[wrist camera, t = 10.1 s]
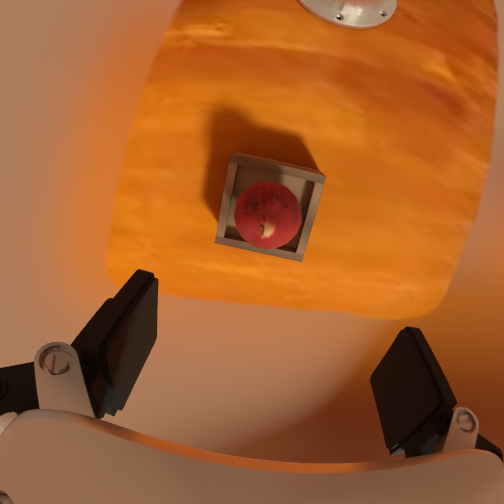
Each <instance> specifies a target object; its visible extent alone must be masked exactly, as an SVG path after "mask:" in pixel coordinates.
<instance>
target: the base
mask: <svg viewBox="0 0 504 504" xmlns="http://www.w3.org/2000/svg"><path fill="white" fill-rule="evenodd" d="M325 178H326V176H325V175H324V174H323V173H322V172H320V171H319V170H316V169H312V168H308V167H304V166H300V165H296V164H292V163H288V162H283V161H279V160H275V159H270V158H265V157H261V156H256V155H251V154H246V153H241V152H235V153H233V154H231V155H230V160H229V165H228V170H227V176H226V181H225V187H224V192H223V198H222V203H221V209H220V215H219V221H218V227H217V233H216V239H215V243H217V244H221V245H226V246H231V247H235V248H240V249H245V250H249V251H254V252H258V253H263V254H268V255H272V256H277V257H281V258H286V259H291V260H295V261H300V262H302V259H303V256H304V252H305V249H306V246H307V242H308V239H309V236H310V232H311V229H312V225H313V222H314V218H315V215H316V211H317V208H318V204H319V200H320V197H321V193H322V189H323V186H324V182H325ZM258 182H276V183H279V184H281V185H284V186H286V187H288V188H289V189H290V191H291V192H292V193H293V194H294V195H295V196H296V197H297V200H298V202H299V204H300V206H301V220H302V222H301V224H300V227H299V229H298V232H297V234H296V235H295V236H294V237H293V238H292V239H291V240H290V241H289V242H288V243H286V244H284V245H282V246H280V247H278V248H273V249H261V248H257V247H254V246H252V245H250V244H249V243H248V242H247V241H246V240H244V239H243V238H242V236H241V235H240V233H239V231H238V230H237V228H236V225H235V219H234V211H235V207H236V202H237V199H238V198H239V196H240V195H241V194H242V193H243V191H244V190H245V189H246V188H247V187H249V186H251V185H253V184H256V183H258Z"/></svg>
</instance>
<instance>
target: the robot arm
mask: <svg viewBox="0 0 504 504" xmlns="http://www.w3.org/2000/svg"><path fill="white" fill-rule="evenodd" d="M298 2H299V3H300V4H301V5H302V6H303V7H304V8H306V9H307V10H308V11H309V12H311V13H312V14H314V15H316V16H317V17H319V18H321V19H323V20H325V21H327V22H329V23H332V24H335V25H338V26H343V27H348V28H357V29H363V28H371V27H375V26H378V25H380V24H382V23H384V22H386V21H387V20H388V19H389V18H390V17H391V16H392V15H393V13H394V12H395V9H396V7H397V0H298ZM381 15H382V16H381ZM337 18H339V19H340V20H338V19H337ZM157 305H158V279H157V278H154V274H153V273H151V272H148V271H144V270H140V269H138V270H137V271H136V272H135V273H134V274H133V275H132V276H131V278H130V279H129V280H128V281H127V282H126V283H125V285H124V286H123V287H122V288H121V289H120V291H119V292H118V293H117V294H116V295H115V297H114V298H113V299H112V298H109V299H108V300H106V301H105V302H104V304H103V305H102V306H101V307H100V308H99V310H98V311H97V312H96V313H95V315H94V316H93V317H92V318H91V320H90V321H89V322H88V323H87V324H86V326H85V327H84V328H83V329H82V331H81V332H80V333H79V335H78V336H77V337H76V338H75V340H74V341H73V342H72V344H71V345H68V344H67V343H63V342H51V343H48V344H46V345H44V346H42V347H41V348H40V349H39V350H38V351H37V353H36V355H35V360H34V362H30V363H25V364H20V365H15V366H9V367H3V368H0V504H504V464H503V454H502V451H501V450H500V449H499V448H498V447H496V446H495V445H494V444H492V443H491V442H489V441H488V440H486V439H485V438H484V437H482V436H481V435H479V434H478V420H477V418H476V416H475V415H474V414H473V412H471V411H470V410H469V409H467V408H464V407H460V408H457V409H456V410H455V411H454V412H453V409H452V408H453V407H454V406H455V405H456V404H457V401H456V399H455V396H454V394H453V392H452V390H451V388H450V386H449V383H448V381H447V379H446V377H445V375H444V373H443V371H442V369H441V367H440V365H439V363H438V361H437V360H436V357H435V356H434V354H433V352H432V350H431V348H430V346H429V344H428V343H427V341H426V339H425V337H424V335H423V334H422V332H421V330H420V329H419V328H414V327H405V328H404V329H403V330H401V331H400V332H399V334H398V335H397V337H396V339H395V340H394V342H393V344H392V345H391V347H390V348H389V350H388V351H387V353H386V354H385V356H384V357H383V359H382V360H381V362H380V363H379V365H378V366H377V368H376V369H375V371H374V372H373V374H372V375H371V379H370V383H371V387H372V390H373V394H374V398H375V401H376V405H377V409H378V413H379V417H380V421H381V426H382V430H383V434H384V439H385V443H386V447H387V448H388V449H389V451H390V455H399V454H402V453H403V452H405V457H404V459H397V460H389V461H378V462H366V463H346V464H309V463H290V462H277V461H267V460H258V459H251V458H243V457H237V456H231V455H225V454H220V453H214V452H210V451H205V450H200V449H196V448H192V447H188V446H184V445H180V444H176V443H172V442H169V441H165V440H161V439H158V438H155V437H151V436H148V435H145V434H141V433H139V432H136V431H133V430H130V429H127V428H124V427H120V426H118V425H114V424H112V423H109V422H106V421H103V420H100V419H101V418H103V417H104V415H105V413H107V414H110V415H112V416H115V414H116V412H117V410H122V409H123V408H124V406H125V403H126V401H127V399H128V397H129V395H130V393H131V390H132V389H133V386H134V384H135V382H136V380H137V378H138V376H139V374H140V372H141V370H142V368H143V366H144V364H145V362H146V360H147V358H148V355H149V354H150V351H151V349H152V347H153V345H154V344H155V341H156V338H157Z"/></svg>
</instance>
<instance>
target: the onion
mask: <svg viewBox="0 0 504 504" xmlns="http://www.w3.org/2000/svg"><path fill="white" fill-rule="evenodd" d="M234 219H235V225H236V228H237V230H238V231H239V233H240V235H241V236H242V238H243V239H244V240H246V241H247V242H248V243H249V244H250V245H252V246H254V247H257V248H261V249H273V248H278V247H280V246H282V245H284V244H286V243H288V242H289V241H290V240H291V239H292V238H293V237H294V236H295V235H296V234H297V232H298V229H299V227H300V224H301V222H302V220H301V206H300V204H299V202H298V200H297V197H296V196H295V195H294V194H293V193H292V192H291V191H290V189H289V188H288V187H286V186H284V185H281V184H279V183H276V182H258V183H256V184H253V185H251V186H249V187H247V188H246V189H245V190H244V191H243V193H242V194H241V195H240V196H239V198H238V199H237V202H236V207H235V211H234Z"/></svg>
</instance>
